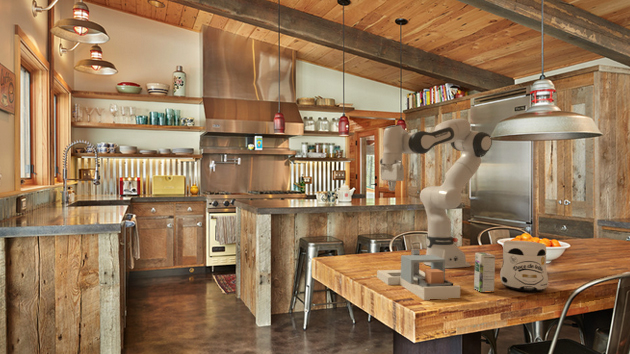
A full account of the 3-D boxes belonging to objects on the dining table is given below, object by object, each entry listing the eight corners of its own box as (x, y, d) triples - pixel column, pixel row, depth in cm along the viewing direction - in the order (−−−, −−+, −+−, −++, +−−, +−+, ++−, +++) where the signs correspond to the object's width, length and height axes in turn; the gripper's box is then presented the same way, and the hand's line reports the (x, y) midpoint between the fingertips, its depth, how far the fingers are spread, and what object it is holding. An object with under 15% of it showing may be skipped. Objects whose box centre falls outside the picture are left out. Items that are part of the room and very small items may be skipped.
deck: (418, 276, 195) (418, 265, 195) (460, 298, 160) (460, 286, 160) (377, 277, 191) (377, 266, 191) (410, 300, 156) (411, 288, 156)
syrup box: (473, 289, 174) (474, 252, 174) (487, 289, 174) (488, 252, 174) (480, 293, 168) (480, 254, 168) (495, 292, 169) (495, 254, 169)
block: (437, 284, 168) (437, 268, 168) (443, 288, 163) (443, 271, 163) (424, 285, 167) (425, 269, 167) (430, 288, 162) (431, 272, 162)
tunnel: (432, 276, 181) (433, 254, 181) (444, 282, 171) (445, 259, 171) (400, 277, 178) (401, 255, 178) (410, 283, 168) (411, 260, 168)
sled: (424, 274, 184) (425, 248, 184) (453, 288, 161) (453, 259, 161) (402, 274, 182) (402, 248, 182) (427, 289, 159) (428, 260, 159)
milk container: (527, 296, 164) (528, 248, 164) (490, 285, 180) (491, 241, 180) (558, 292, 172) (559, 245, 172) (520, 281, 187) (521, 239, 187)
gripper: (408, 160, 193) (407, 191, 193) (390, 161, 213) (390, 189, 213) (394, 159, 192) (393, 191, 192) (378, 160, 212) (377, 189, 212)
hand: (391, 190), depth 202 cm, fingers closed
